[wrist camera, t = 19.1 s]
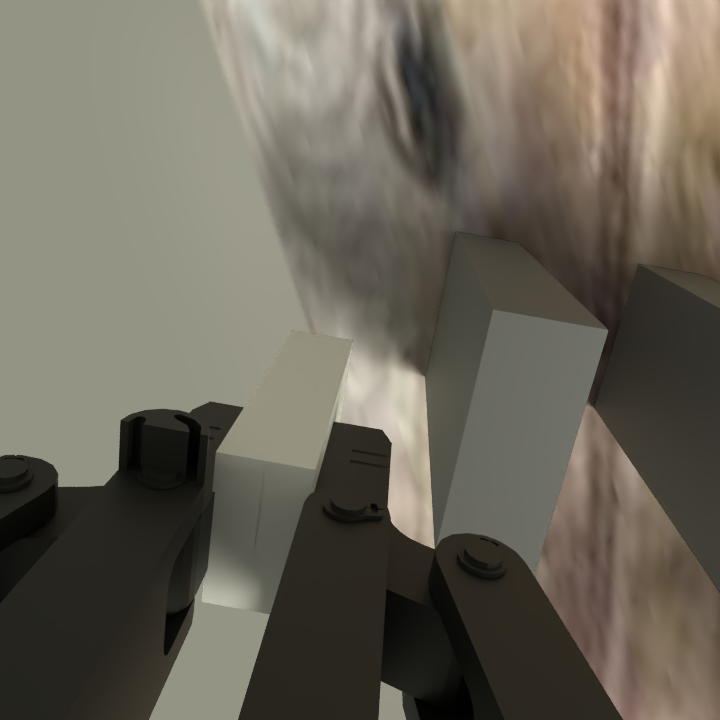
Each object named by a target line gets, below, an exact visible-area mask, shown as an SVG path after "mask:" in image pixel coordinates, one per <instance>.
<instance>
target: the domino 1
mask: <svg viewBox="0 0 720 720" xmlns="http://www.w3.org/2000/svg"><path fill="white" fill-rule="evenodd" d="M607 334H608V329H607V328H606V327H605V326H604V325H603V324H602V323H601V322H600V321H599V320H598V319H597V318H596V317H595V316H594V315H592V314H591V313H590V312H589V311H588V310H587V309H586V308H585V307H584V306H583V305H582V304H581V303H580V302H579V301H578V300H577V299H576V298H575V297H574V296H573V295H572V294H571V293H570V292H569V291H568V290H567V289H566V288H565V287H564V286H563V285H562V284H560V283H559V282H558V281H557V280H556V279H555V278H554V277H553V276H552V275H551V274H550V273H549V272H548V271H547V270H546V269H545V268H544V267H543V266H542V265H541V264H540V263H539V262H538V261H537V260H536V259H535V258H534V257H533V256H532V255H531V254H530V253H529V252H527V251H526V250H525V249H524V248H523V247H522V246H521V245H520V244H519V243H518V242H512V241H507V240H501V239H495V238H489V237H484V236H478V235H472V234H467V233H461V232H456V233H455V238H454V243H453V247H452V252H451V257H450V262H449V266H448V271H447V276H446V281H445V285H444V290H443V295H442V300H441V304H440V309H439V314H438V319H437V323H436V328H435V333H434V337H433V342H432V347H431V352H430V356H429V361H428V366H427V371H426V375H425V384H426V401H427V419H428V437H429V454H430V472H431V489H432V507H433V525H434V542H435V548H436V547H437V545H438V544H439V542H440V540H441V539H443V538H445V537H448V536H450V535H452V534H461V533H471V534H477V535H484V536H488V537H490V538H494V539H496V540H498V541H500V542H502V543H504V544H505V545H507V546H508V547H510V548H511V549H513V550H514V551H516V552H517V553H518V554H519V556H520V557H521V558H522V559H523V560H524V561H525V562H526V564H527V565H528V567H529V569H530V570H533V571H536V568H537V565H538V561H539V558H540V555H541V551H542V548H543V545H544V541H545V538H546V535H547V532H548V528H549V525H550V522H551V518H552V515H553V512H554V508H555V505H556V502H557V499H558V495H559V492H560V489H561V485H562V482H563V479H564V476H565V472H566V469H567V466H568V462H569V459H570V456H571V452H572V449H573V446H574V443H575V439H576V436H577V433H578V429H579V426H580V423H581V419H582V416H583V413H584V410H585V406H586V403H587V400H588V396H589V393H590V390H591V386H592V383H593V380H594V377H595V373H596V370H597V367H598V363H599V360H600V357H601V354H602V350H603V347H604V344H605V340H606V337H607Z"/></svg>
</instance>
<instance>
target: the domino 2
mask: <svg viewBox="0 0 720 720" xmlns="http://www.w3.org/2000/svg"><path fill="white" fill-rule="evenodd" d="M594 408H595V410H596V411H597V413H598V414H599V416H600V417H601V418H602V420H603V421H604V423H605V424H606V426H607V427H608V429H609V430H610V432H611V433H612V435H613V436H614V438H615V439H616V441H617V442H618V443H619V445H620V446H621V448H622V449H623V451H624V452H625V454H626V455H627V457H628V458H629V460H630V461H631V463H632V464H633V466H634V467H635V468H636V470H637V471H638V473H639V474H640V476H641V477H642V479H643V480H644V482H645V483H646V485H647V486H648V488H649V489H650V491H651V492H652V493H653V495H654V496H655V498H656V499H657V501H658V502H659V504H660V505H661V507H662V508H663V510H664V511H665V513H666V514H667V516H668V517H669V519H670V520H671V521H672V523H673V524H674V526H675V527H676V529H677V530H678V532H679V533H680V535H681V536H682V538H683V539H684V541H685V542H686V544H687V545H688V546H689V548H690V549H691V551H692V552H693V554H694V555H695V557H696V558H697V560H698V561H699V563H700V564H701V566H702V567H703V569H704V570H705V571H706V573H707V574H708V576H709V577H710V579H711V580H712V582H713V583H714V585H715V586H716V588H717V589H718V591H719V592H720V283H718V282H716V281H714V280H712V279H709V278H707V277H705V276H703V275H700V274H694V273H688V272H683V271H677V270H671V269H665V268H660V267H654V266H648V265H643V264H638V267H637V270H636V274H635V277H634V280H633V283H632V287H631V290H630V293H629V296H628V299H627V303H626V306H625V309H624V312H623V316H622V319H621V322H620V325H619V329H618V332H617V335H616V338H615V342H614V345H613V348H612V351H611V355H610V358H609V361H608V364H607V368H606V371H605V374H604V377H603V381H602V384H601V387H600V390H599V394H598V397H597V400H596V403H595V407H594Z"/></svg>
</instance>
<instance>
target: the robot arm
mask: <svg viewBox="0 0 720 720" xmlns="http://www.w3.org/2000/svg"><path fill="white" fill-rule="evenodd" d="M352 346H353V340H347V339H341V338H335V337H330V336H324V335H318V334H312V333H307V332H301V331H295V330H293V331H292V332H291V334H290V335H289V337H288V338H287V340H286V342H285V343H284V345H283V346H282V348H281V349H280V351H279V353H278V354H277V356H276V357H275V359H274V361H273V362H272V364H271V365H270V367H269V368H268V370H267V372H266V373H265V375H264V376H263V378H262V380H261V381H260V383H259V384H258V386H257V388H256V389H255V391H254V393H253V394H252V395H251V397H250V399H249V400H248V402H247V403H246V405H245V407H238V406H233V405H227V404H221V403H215V402H209V403H206V404H204V405H202V406H200V407H198V408H195V409H193V410H192V411H191V412H190V413H187V412H183V411H179V410H168V409H155V410H144V411H140V412H137V413H133V414H130V415H128V416H127V417H125V418H124V419H122V420H121V424H120V449H119V470H118V471H117V472H116V473H115V474H114V475H113V476H112V478H111V479H110V480H109V481H108V482H107V483H106V484H105V485H104V486H95V487H58V473H57V471H56V469H55V468H54V466H53V465H52V464H50V463H48V462H46V461H44V460H42V459H38V458H33V457H28V456H23V455H17V456H15V455H4V456H1V457H0V720H149V718H150V716H151V713H152V711H153V709H154V707H155V705H156V702H157V700H158V698H159V696H160V693H161V691H162V689H163V687H164V685H165V682H166V680H167V678H168V676H169V673H170V671H171V669H172V667H173V664H174V662H175V660H176V658H177V656H178V654H179V651H180V649H181V647H182V645H183V643H184V640H185V638H186V636H187V634H188V631H189V629H190V627H191V624H192V619H193V613H194V602H195V595H196V593H197V591H198V589H199V586H200V584H201V582H202V580H203V578H204V584H203V594H202V602H206V603H212V604H217V605H223V606H228V607H234V608H239V609H245V610H250V611H256V612H261V613H267V614H270V616H269V620H268V623H267V626H266V630H265V633H264V636H263V640H262V643H261V646H260V649H259V653H258V656H257V659H256V662H255V666H254V669H253V672H252V675H251V679H250V682H249V686H248V689H247V692H246V695H245V699H244V702H243V705H242V708H241V712H240V715H239V719H238V720H378V716H379V699H380V683H381V681H382V682H384V683H386V684H388V685H390V686H393V687H395V688H397V689H399V690H401V691H402V696H403V709H404V712H405V716H406V720H623V719H622V717H621V716H620V714H619V713H618V711H617V709H616V708H615V706H614V704H613V703H612V701H611V700H610V698H609V696H608V695H607V693H606V691H605V690H604V688H603V687H602V685H601V683H600V682H599V680H598V679H597V677H596V675H595V674H594V672H593V670H592V669H591V667H590V666H589V664H588V662H587V661H586V659H585V658H584V656H583V654H582V653H581V651H580V649H579V648H578V646H577V645H576V643H575V641H574V640H573V638H572V637H571V635H570V633H569V632H568V630H567V628H566V627H565V625H564V624H563V622H562V620H561V619H560V617H559V615H558V614H557V612H556V611H555V609H554V607H553V606H552V604H551V603H550V601H549V599H548V598H547V596H546V594H545V593H544V591H543V590H542V588H541V586H540V585H539V583H538V582H537V580H536V578H535V577H534V575H533V573H532V572H531V570H530V569H529V567H528V565H527V564H526V562H525V561H524V560H523V559H522V558H521V557H520V556H519V554H518V553H517V552H516V551H514V550H513V549H511V548H510V547H508V546H507V545H505V544H504V543H502V542H500V541H498V540H496V539H494V538H490V537H488V536H484V535H477V534H471V533H461V534H452V535H450V536H448V537H445V538H443V539H441V540H440V542H439V544H438V545H437V547H436V548H435V549H432V548H430V547H427V546H425V545H422V544H420V543H418V542H416V541H414V540H412V539H410V538H408V537H407V536H405V535H404V534H402V533H401V532H400V531H399V530H398V529H397V528H396V527H395V526H394V525H393V524H392V522H391V521H390V520H391V517H390V513H389V510H388V507H387V505H388V490H389V475H390V460H391V459H390V457H391V445H392V443H391V442H390V440H389V439H388V437H387V436H386V435H385V433H384V432H383V430H379V429H374V428H368V427H362V426H357V425H351V424H345V423H340V420H341V414H342V408H343V401H344V395H345V389H346V383H347V377H348V370H349V364H350V358H351V352H352Z"/></svg>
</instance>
